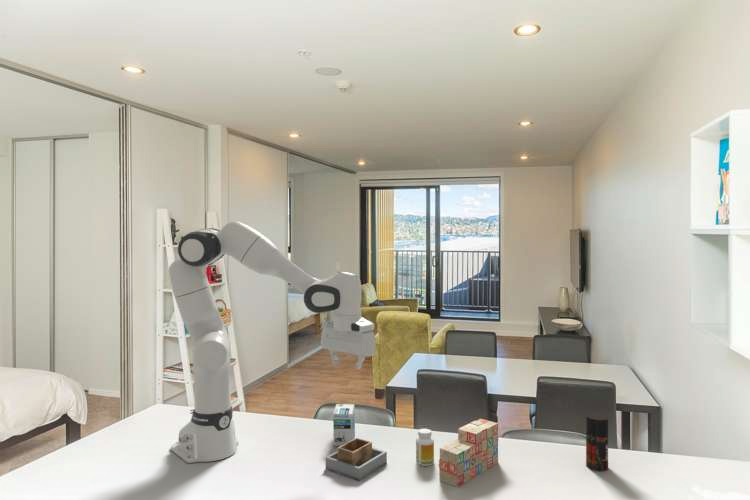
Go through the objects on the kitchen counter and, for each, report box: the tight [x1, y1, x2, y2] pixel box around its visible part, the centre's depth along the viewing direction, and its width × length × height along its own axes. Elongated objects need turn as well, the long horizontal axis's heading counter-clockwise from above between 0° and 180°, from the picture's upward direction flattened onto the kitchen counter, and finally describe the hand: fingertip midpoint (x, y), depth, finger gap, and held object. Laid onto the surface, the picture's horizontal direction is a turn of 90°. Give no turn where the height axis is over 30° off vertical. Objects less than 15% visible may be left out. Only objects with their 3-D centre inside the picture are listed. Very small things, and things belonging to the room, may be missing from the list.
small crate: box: [336, 437, 373, 467], centre depth 147 cm, size 9×6×6 cm, turn 144°
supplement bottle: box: [415, 428, 435, 467], centre depth 149 cm, size 5×5×10 cm
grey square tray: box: [324, 447, 388, 482], centre depth 147 cm, size 13×14×4 cm
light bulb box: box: [332, 403, 356, 447], centre depth 167 cm, size 11×7×11 cm, turn 179°
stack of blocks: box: [438, 418, 499, 488], centre depth 144 cm, size 21×6×12 cm, turn 135°
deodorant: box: [585, 412, 609, 472], centre depth 146 cm, size 6×6×15 cm
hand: (346, 366), depth 156 cm, fingers open, 8 cm apart
